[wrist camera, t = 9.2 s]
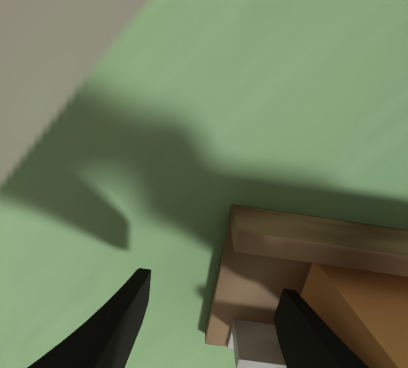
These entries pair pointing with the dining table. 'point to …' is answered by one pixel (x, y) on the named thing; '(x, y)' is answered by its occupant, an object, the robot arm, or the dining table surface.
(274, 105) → the dining table surface
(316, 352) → the robot arm
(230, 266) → the shelf
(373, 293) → the tan block
